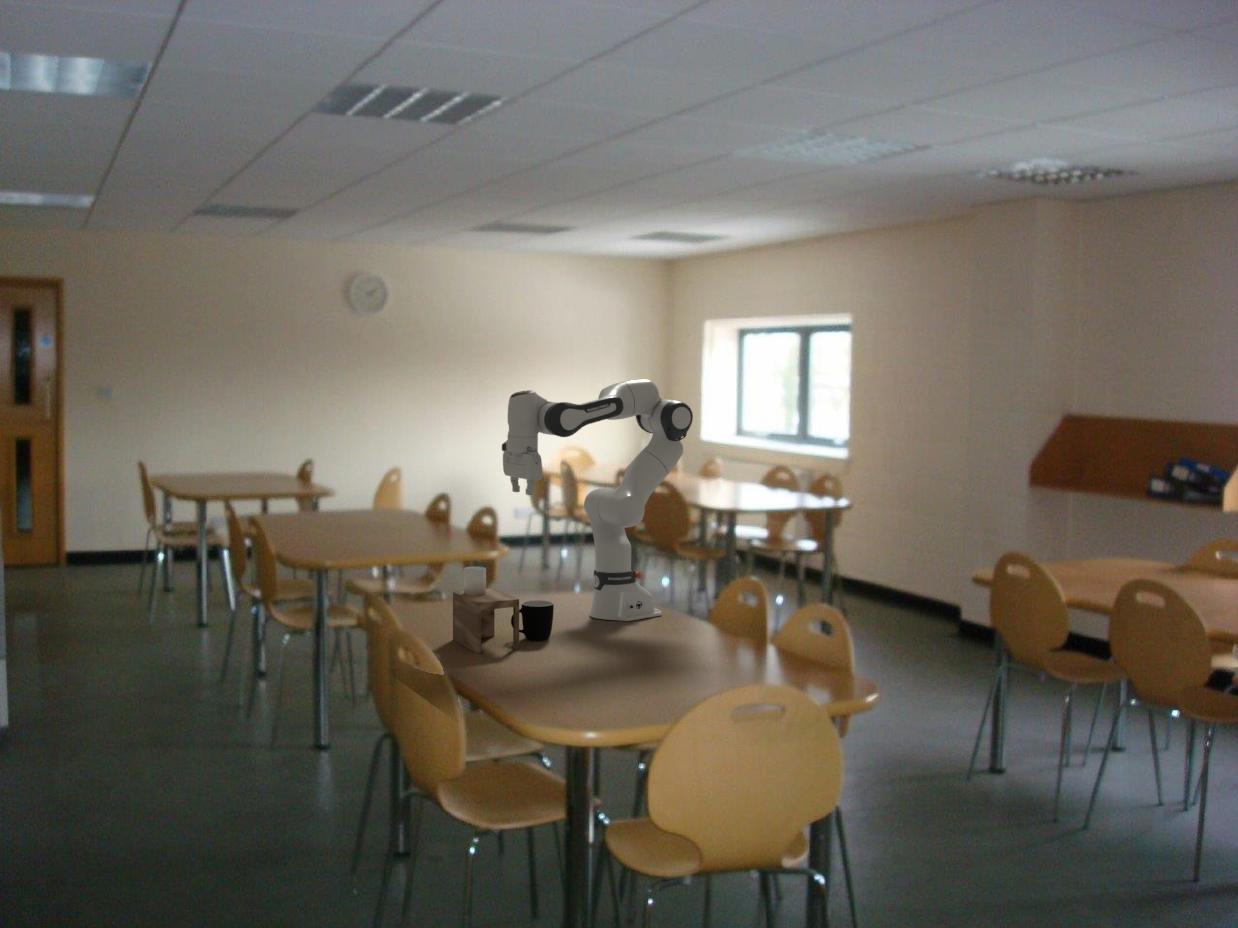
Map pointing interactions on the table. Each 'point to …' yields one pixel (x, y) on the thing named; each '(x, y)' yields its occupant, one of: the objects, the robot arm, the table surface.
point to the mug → (536, 619)
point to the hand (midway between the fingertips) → (522, 493)
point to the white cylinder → (474, 580)
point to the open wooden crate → (481, 617)
